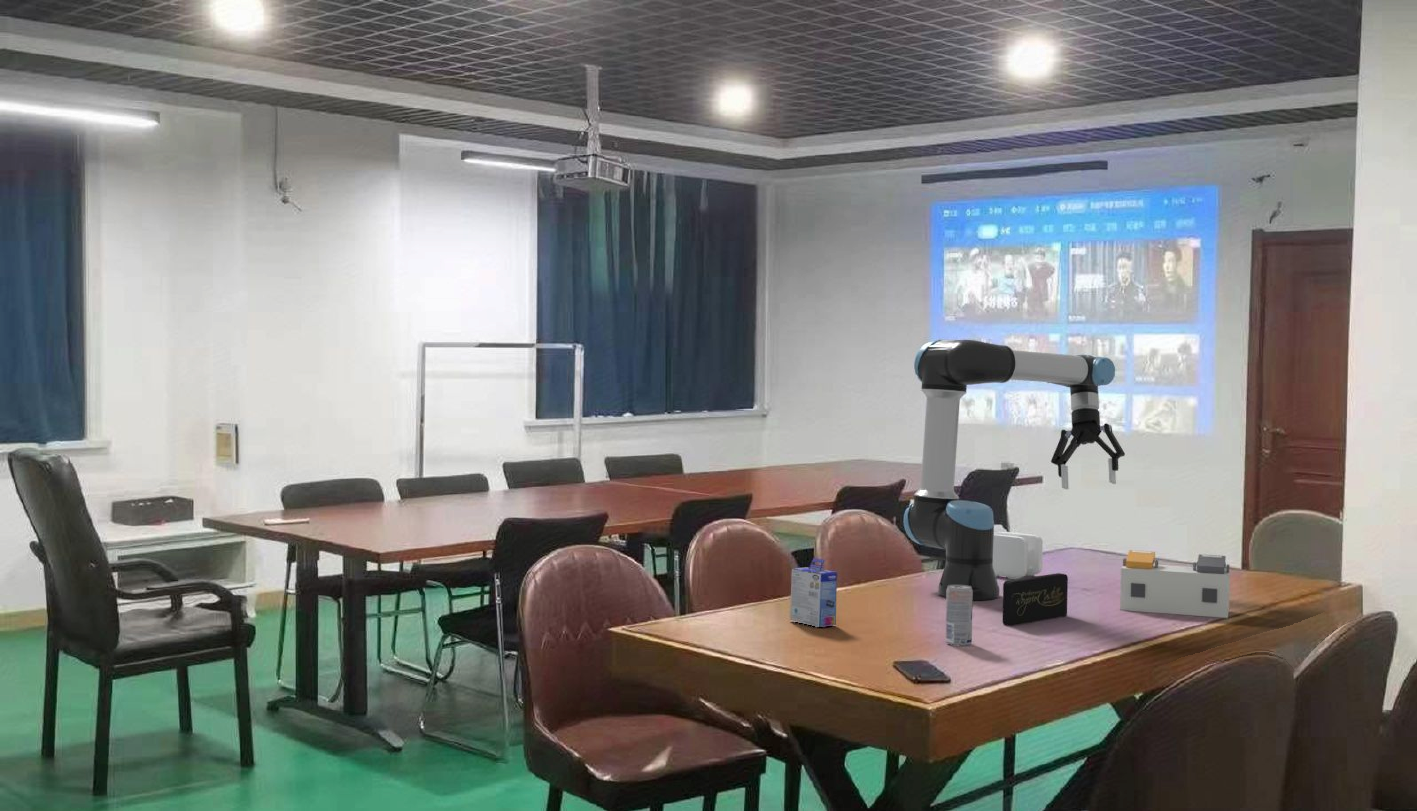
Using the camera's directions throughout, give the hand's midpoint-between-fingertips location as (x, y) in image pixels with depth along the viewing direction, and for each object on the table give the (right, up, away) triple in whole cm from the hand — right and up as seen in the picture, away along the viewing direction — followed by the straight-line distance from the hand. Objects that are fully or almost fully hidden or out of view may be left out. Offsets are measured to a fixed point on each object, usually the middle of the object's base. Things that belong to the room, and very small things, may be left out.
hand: (1088, 485), depth 369 cm
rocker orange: (+1, -15, -42) cm, 45 cm away
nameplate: (-29, -28, -59) cm, 72 cm away
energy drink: (-51, -28, -87) cm, 105 cm away
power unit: (+8, -27, -45) cm, 53 cm away
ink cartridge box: (-80, -27, -67) cm, 108 cm away
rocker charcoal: (+15, -16, -48) cm, 53 cm away
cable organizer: (-20, -26, +7) cm, 33 cm away
